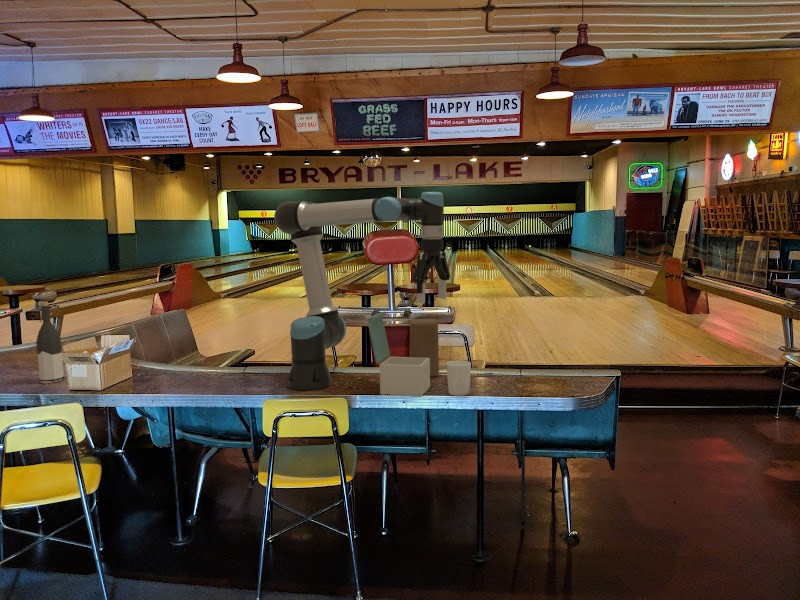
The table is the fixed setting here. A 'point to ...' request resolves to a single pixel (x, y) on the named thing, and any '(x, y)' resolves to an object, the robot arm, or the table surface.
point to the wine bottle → (49, 349)
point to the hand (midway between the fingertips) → (431, 300)
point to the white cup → (458, 377)
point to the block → (425, 342)
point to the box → (405, 376)
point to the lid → (378, 337)
